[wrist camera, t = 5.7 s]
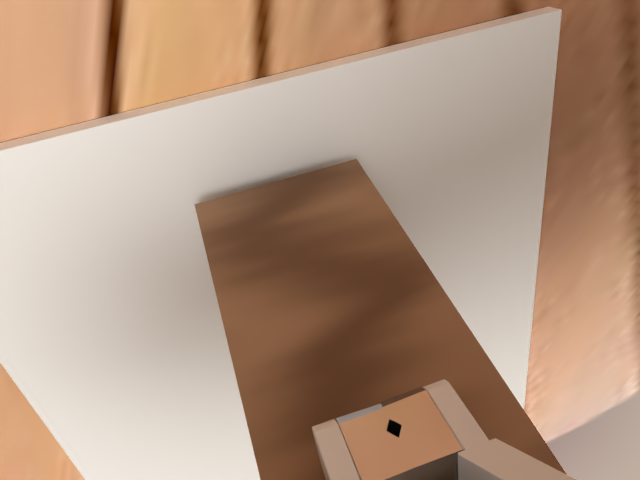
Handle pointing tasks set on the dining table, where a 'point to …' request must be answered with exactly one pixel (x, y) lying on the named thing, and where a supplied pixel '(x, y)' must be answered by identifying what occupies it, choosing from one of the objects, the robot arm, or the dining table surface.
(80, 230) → the white mat
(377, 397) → the walnut block
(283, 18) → the dining table surface
